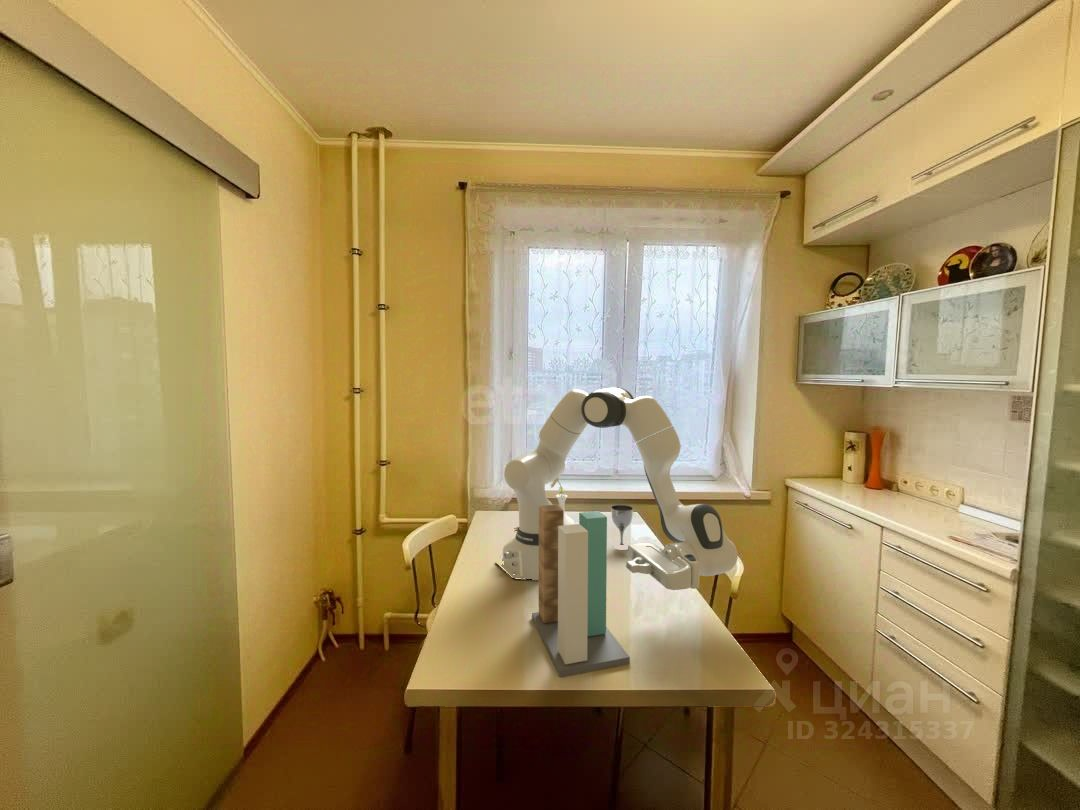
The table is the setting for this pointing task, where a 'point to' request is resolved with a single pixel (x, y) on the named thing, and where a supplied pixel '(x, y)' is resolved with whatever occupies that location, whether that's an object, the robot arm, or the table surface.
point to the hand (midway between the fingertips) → (628, 567)
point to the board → (599, 650)
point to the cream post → (572, 593)
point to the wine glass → (621, 517)
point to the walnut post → (549, 561)
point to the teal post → (596, 570)
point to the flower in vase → (562, 503)
